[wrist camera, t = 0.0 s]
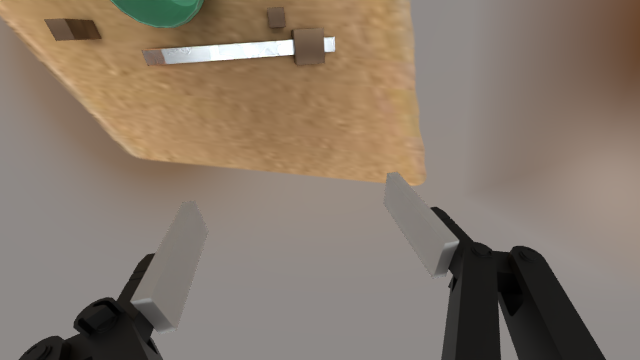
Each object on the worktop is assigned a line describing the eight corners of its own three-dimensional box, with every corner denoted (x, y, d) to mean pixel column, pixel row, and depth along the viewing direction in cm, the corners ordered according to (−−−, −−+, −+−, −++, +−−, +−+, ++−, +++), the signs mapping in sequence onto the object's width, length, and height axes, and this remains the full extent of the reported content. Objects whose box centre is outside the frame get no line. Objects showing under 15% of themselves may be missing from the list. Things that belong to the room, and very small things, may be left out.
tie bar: (149, 48, 32) (141, 50, 30) (331, 36, 35) (334, 36, 33) (155, 64, 33) (148, 65, 31) (331, 50, 36) (335, 51, 34)
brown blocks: (75, 21, 30) (44, 19, 26) (316, 8, 34) (323, 5, 29) (104, 76, 33) (80, 83, 29) (319, 59, 37) (325, 63, 33)
